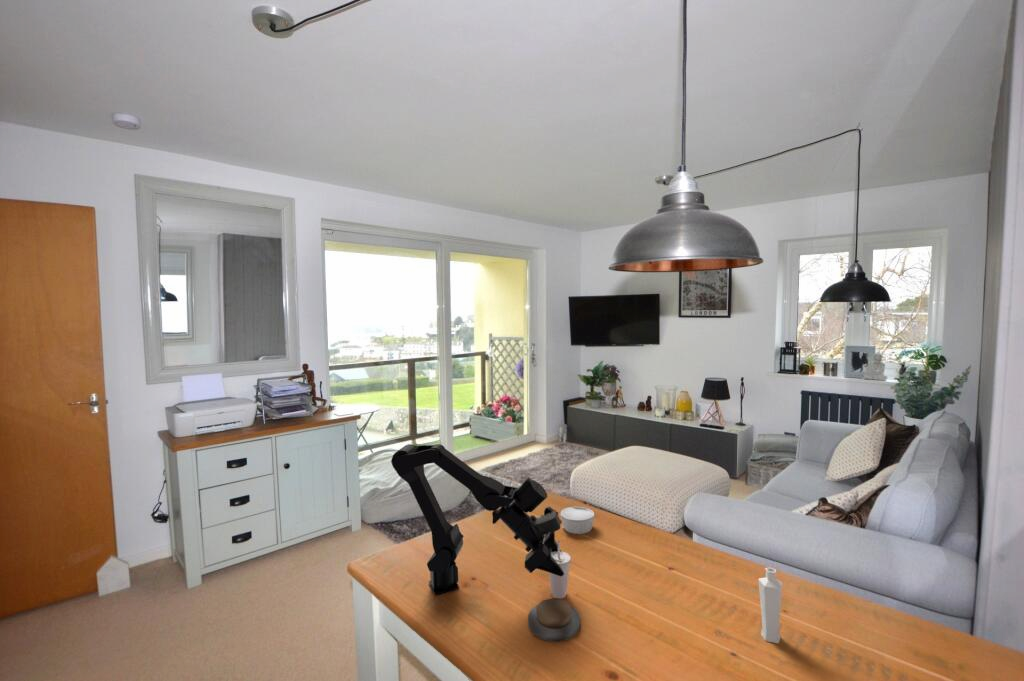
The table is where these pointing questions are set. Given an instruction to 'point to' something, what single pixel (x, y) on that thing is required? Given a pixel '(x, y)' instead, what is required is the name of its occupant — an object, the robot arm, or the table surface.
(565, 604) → the pedestal
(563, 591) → the white drink cup
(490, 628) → the table surface
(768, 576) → the perfume bottle
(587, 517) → the ramekin
